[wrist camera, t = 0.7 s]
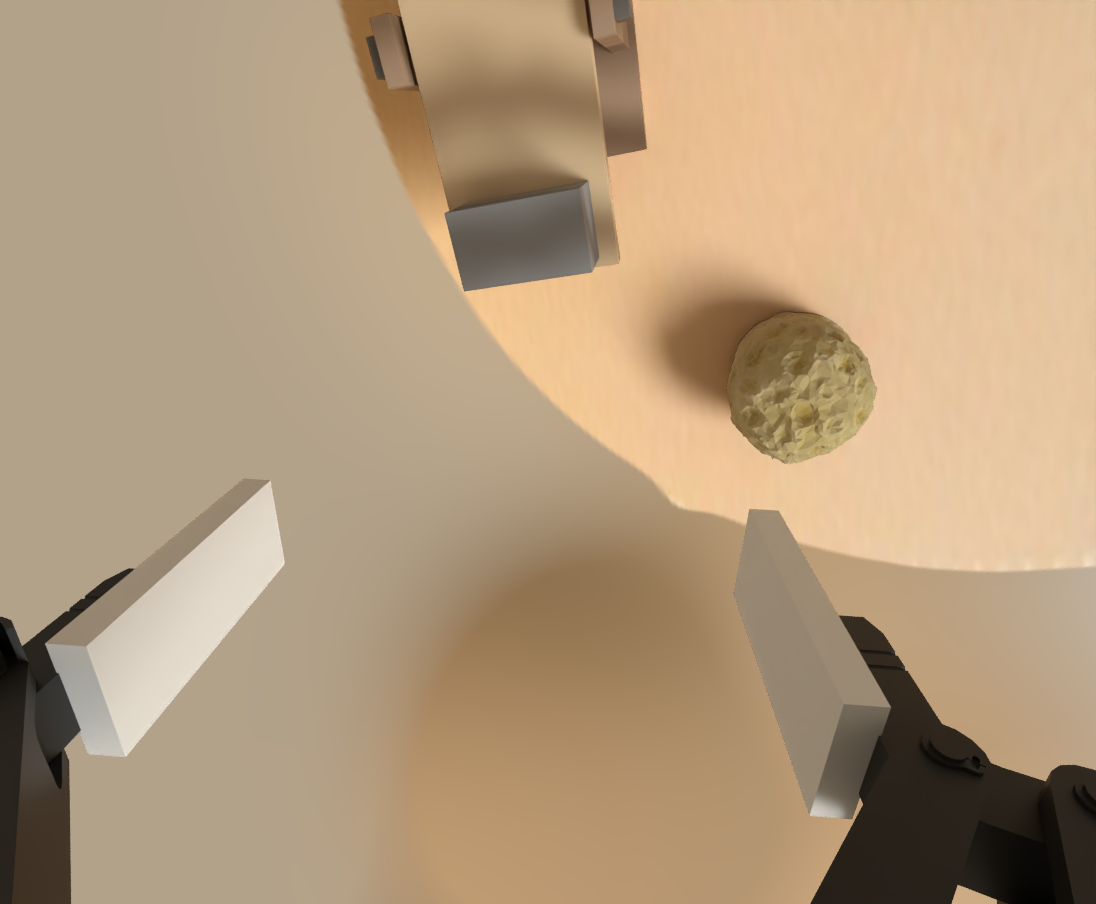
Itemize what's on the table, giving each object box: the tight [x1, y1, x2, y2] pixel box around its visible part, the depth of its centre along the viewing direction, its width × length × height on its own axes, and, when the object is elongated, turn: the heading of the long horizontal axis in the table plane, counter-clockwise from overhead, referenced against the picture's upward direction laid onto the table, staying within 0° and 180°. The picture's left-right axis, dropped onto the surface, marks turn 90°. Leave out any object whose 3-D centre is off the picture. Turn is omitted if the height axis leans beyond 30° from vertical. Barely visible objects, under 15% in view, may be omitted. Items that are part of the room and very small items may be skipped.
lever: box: [398, 0, 620, 291], centre depth 27 cm, size 22×9×9 cm, turn 11°
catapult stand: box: [366, 0, 647, 157], centre depth 33 cm, size 15×13×10 cm
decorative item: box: [726, 312, 877, 464], centre depth 42 cm, size 10×10×10 cm
